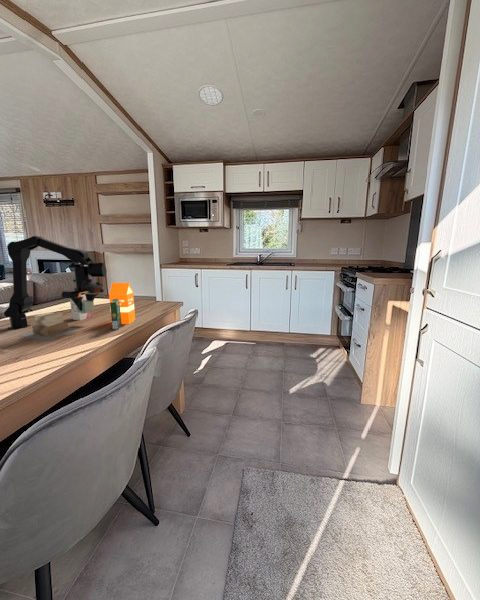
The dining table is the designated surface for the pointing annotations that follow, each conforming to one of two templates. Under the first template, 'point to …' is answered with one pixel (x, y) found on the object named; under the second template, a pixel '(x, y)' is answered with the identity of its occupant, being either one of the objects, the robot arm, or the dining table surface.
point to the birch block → (49, 319)
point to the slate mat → (49, 336)
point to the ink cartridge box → (75, 314)
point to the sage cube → (86, 307)
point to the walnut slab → (50, 329)
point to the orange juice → (123, 301)
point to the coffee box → (115, 314)
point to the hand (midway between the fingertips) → (85, 309)
